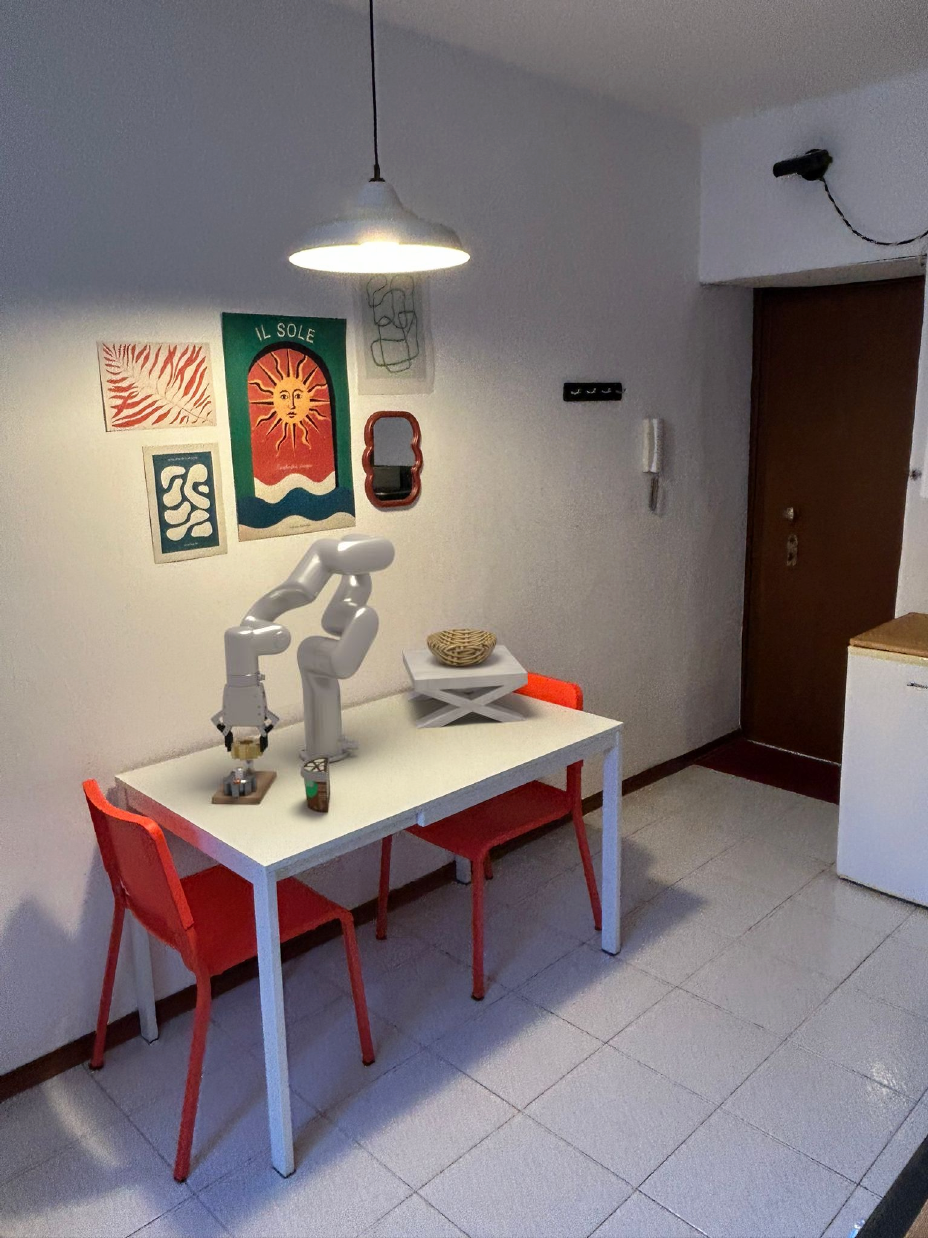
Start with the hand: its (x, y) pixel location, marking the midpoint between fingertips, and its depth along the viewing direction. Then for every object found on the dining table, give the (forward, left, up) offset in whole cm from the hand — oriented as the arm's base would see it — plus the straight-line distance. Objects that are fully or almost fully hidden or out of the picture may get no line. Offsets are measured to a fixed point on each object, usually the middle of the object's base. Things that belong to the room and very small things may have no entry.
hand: (246, 749), depth 227 cm
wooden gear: (0, 0, -1) cm, 1 cm away
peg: (0, 0, -7) cm, 7 cm away
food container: (-19, +12, -9) cm, 24 cm away
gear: (0, +8, -7) cm, 11 cm away
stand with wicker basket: (-49, -58, -9) cm, 76 cm away
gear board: (0, +4, -9) cm, 9 cm away
